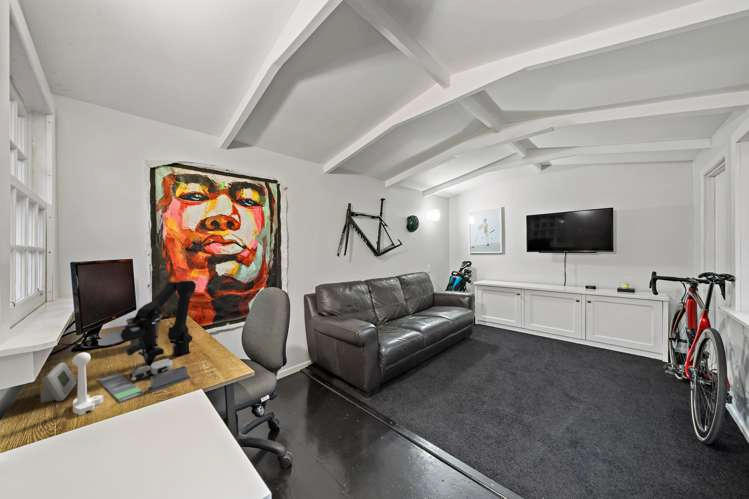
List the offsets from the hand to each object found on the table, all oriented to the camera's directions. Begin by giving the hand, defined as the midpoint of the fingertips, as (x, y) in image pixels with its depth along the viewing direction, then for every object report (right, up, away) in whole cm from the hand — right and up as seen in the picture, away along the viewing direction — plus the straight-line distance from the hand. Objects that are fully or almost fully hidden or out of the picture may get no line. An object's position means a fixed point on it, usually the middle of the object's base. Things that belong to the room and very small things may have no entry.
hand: (148, 367), depth 128 cm
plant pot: (-29, -1, +32) cm, 44 cm away
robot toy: (+5, -2, -5) cm, 7 cm away
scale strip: (+1, -2, -16) cm, 16 cm away
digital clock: (-17, -2, -21) cm, 27 cm away
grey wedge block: (+20, -1, -13) cm, 23 cm away
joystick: (+2, -2, -29) cm, 29 cm away
